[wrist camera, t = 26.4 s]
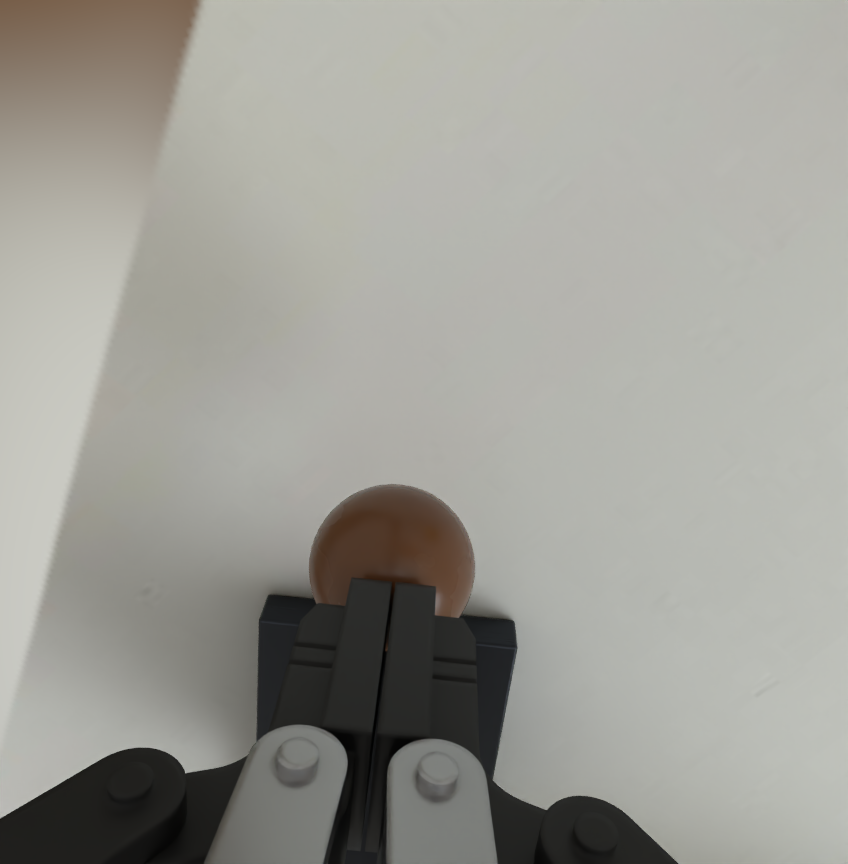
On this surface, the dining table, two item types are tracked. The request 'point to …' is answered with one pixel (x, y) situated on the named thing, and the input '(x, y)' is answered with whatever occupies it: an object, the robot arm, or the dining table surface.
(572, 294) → the dining table surface
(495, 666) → the bracket
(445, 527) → the lever
